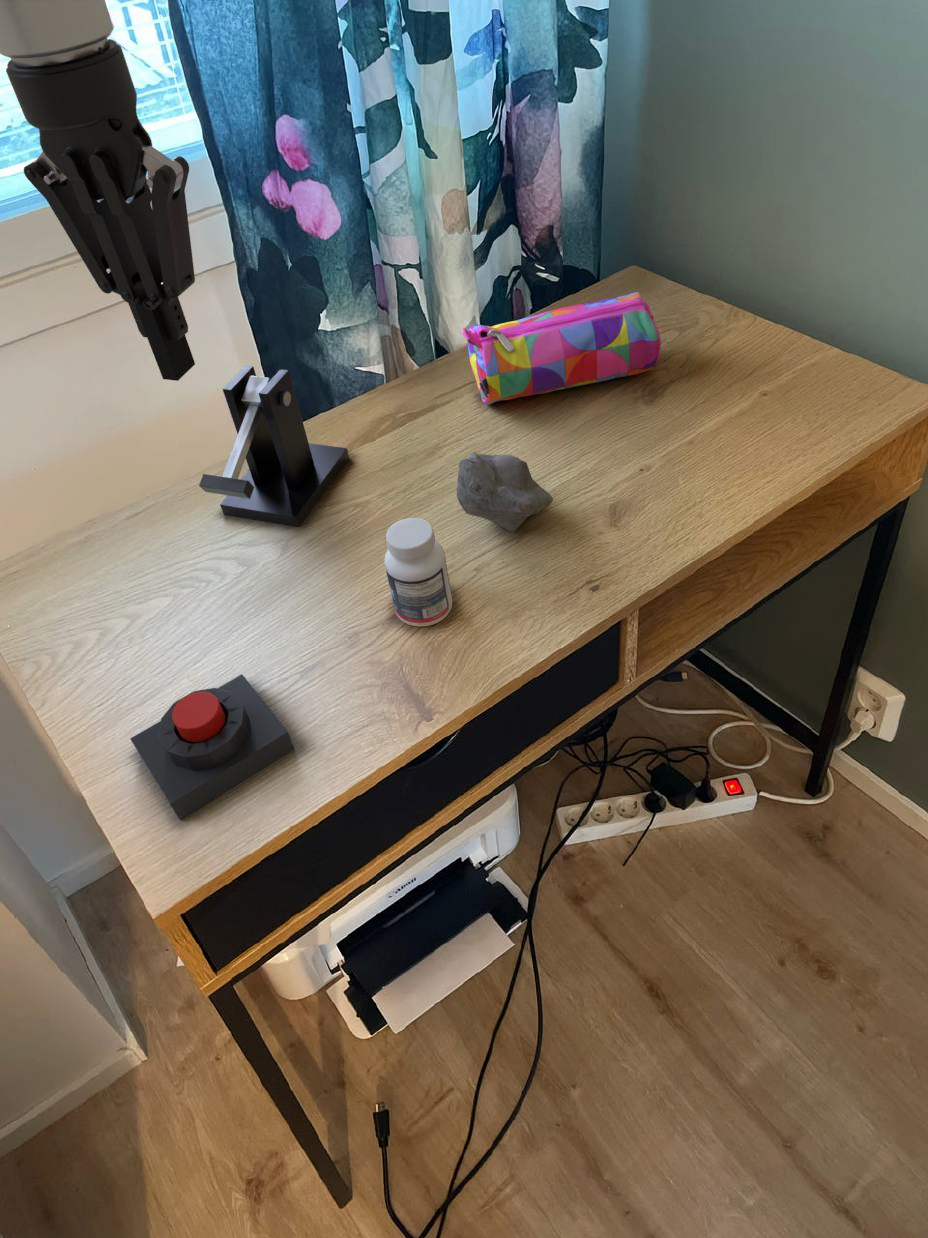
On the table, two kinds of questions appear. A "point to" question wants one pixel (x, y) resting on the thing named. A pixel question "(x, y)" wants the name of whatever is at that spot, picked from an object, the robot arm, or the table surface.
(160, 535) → the table surface
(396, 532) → the pill bottle
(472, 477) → the fossil
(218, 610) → the table surface
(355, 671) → the table surface
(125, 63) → the robot arm
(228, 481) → the lever
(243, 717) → the button box
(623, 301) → the pencil case
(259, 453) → the black lever stand
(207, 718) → the button
